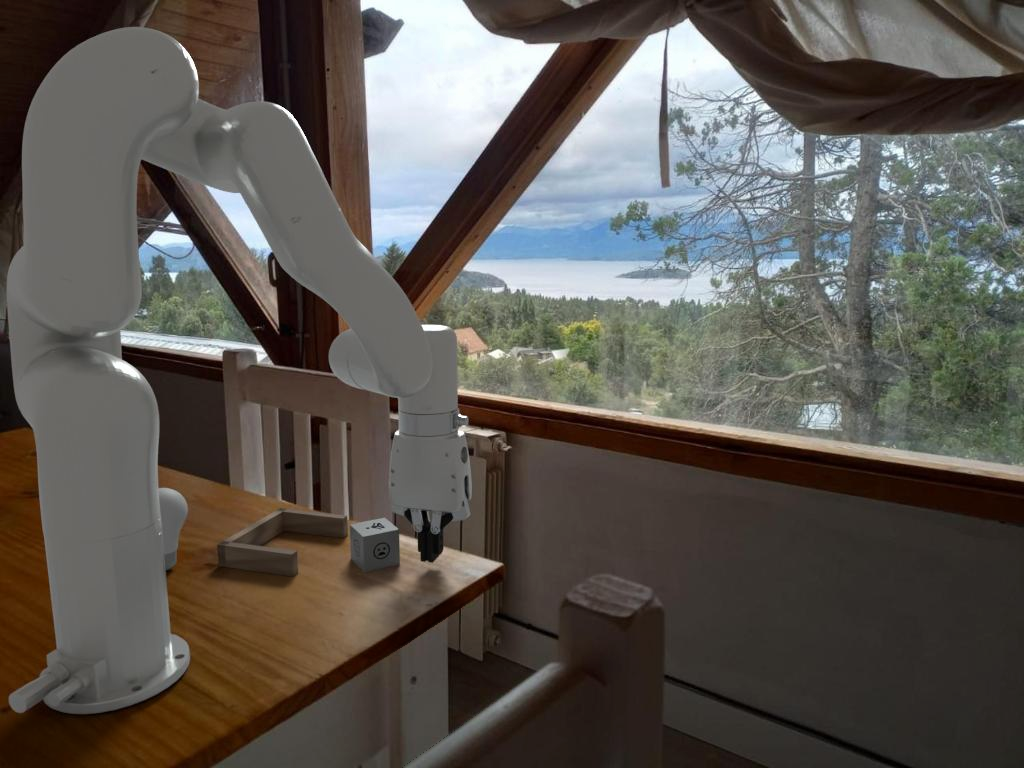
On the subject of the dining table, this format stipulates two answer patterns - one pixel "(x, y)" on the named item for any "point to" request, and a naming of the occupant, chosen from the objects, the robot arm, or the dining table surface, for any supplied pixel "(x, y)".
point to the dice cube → (374, 544)
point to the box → (246, 543)
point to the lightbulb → (171, 522)
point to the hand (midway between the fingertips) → (430, 557)
